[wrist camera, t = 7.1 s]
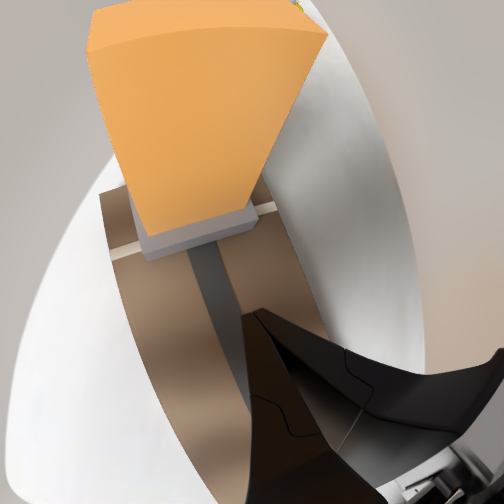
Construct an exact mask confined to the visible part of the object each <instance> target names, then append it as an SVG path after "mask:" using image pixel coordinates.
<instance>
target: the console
mask: <svg viewBox="0 0 504 504" xmlns="http://www.w3.org/2000/svg"><path fill="white" fill-rule="evenodd" d="M99 196H100V203H101V210H102V216H103V222H104V227H105V232H106V237H107V242H108V247H109V253H110V258H111V261H112V265H113V269H114V273H115V277H116V281H117V284H118V288H119V292H120V295H121V299H122V302H123V306H124V309H125V312H126V315H127V319H128V322H129V325H130V328H131V331H132V334H133V337H134V339H135V342H136V345H137V348H138V351H139V353H140V356H141V359H142V361H143V364H144V366H145V369H146V371H147V374H148V376H149V379H150V381H151V383H152V386H153V388H154V390H155V392H156V395H157V397H158V399H159V401H160V404H161V406H162V408H163V410H164V412H165V414H166V416H167V418H168V420H169V422H170V424H171V426H172V428H173V430H174V432H175V434H176V436H177V438H178V440H179V441H180V443H181V445H182V447H183V449H184V450H185V452H186V454H187V456H188V457H189V459H190V461H191V462H192V464H193V466H194V467H195V469H196V471H197V472H198V474H199V476H200V477H201V479H202V480H203V482H204V483H205V485H206V486H207V488H208V489H209V491H210V492H211V494H212V495H213V497H214V498H215V500H216V501H217V502H218V504H245V499H246V494H247V488H248V481H249V468H250V446H251V412H250V401H249V392H248V383H247V375H246V366H245V357H244V348H243V339H242V329H241V320H240V316H241V315H243V314H246V313H248V312H252V311H254V310H256V309H259V308H265V309H267V310H269V311H271V312H273V313H275V314H277V315H279V316H281V317H283V318H285V319H286V320H288V321H290V322H292V323H294V324H296V325H298V326H300V327H302V328H304V329H306V330H308V331H310V332H312V333H314V334H316V335H318V336H320V337H323V338H325V339H327V340H329V338H328V335H327V332H326V330H325V327H324V324H323V322H322V319H321V316H320V314H319V311H318V309H317V306H316V303H315V301H314V298H313V296H312V293H311V291H310V288H309V286H308V283H307V281H306V278H305V276H304V273H303V271H302V268H301V266H300V263H299V261H298V258H297V256H296V253H295V251H294V249H293V246H292V244H291V241H290V239H289V237H288V234H287V232H286V230H285V227H284V225H283V222H282V220H281V218H280V216H279V213H278V211H277V210H278V209H277V207H276V205H275V202H274V201H273V199H272V197H271V195H270V193H269V190H268V188H267V186H266V184H265V181H264V179H263V177H262V175H261V173H260V176H259V178H258V180H257V182H256V184H255V187H254V189H253V191H252V193H251V195H250V199H251V201H252V204H253V206H254V209H255V211H256V213H257V216H258V218H259V220H258V221H257V223H256V225H255V226H254V228H253V229H252V230H249V231H245V232H242V233H239V234H235V235H232V236H229V237H225V238H222V239H219V240H216V241H212V242H209V243H206V244H203V245H200V246H196V247H193V248H190V249H187V250H184V251H180V252H177V253H174V254H171V255H168V256H165V257H162V258H159V259H155V260H152V261H149V262H147V260H146V259H145V257H144V256H143V254H142V250H141V246H140V242H139V238H138V234H137V230H136V226H135V222H134V218H133V213H132V209H131V204H130V199H129V195H128V190H127V185H125V186H122V187H119V188H116V189H113V190H110V191H107V192H104V193H101V194H99ZM329 341H330V340H329ZM326 441H327V440H326ZM328 444H329V443H328ZM329 445H330V444H329ZM331 448H332V447H331ZM332 449H333V448H332ZM333 450H334V449H333Z"/></svg>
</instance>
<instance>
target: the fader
mask: <svg viewBox="0 0 504 504" xmlns="http://www.w3.org/2000/svg"><path fill="white" fill-rule="evenodd" d="M327 36H328V33H327V32H325V31H324V30H323V29H322V28H321V27H320V26H319V25H318V24H317V23H315V22H314V21H313V20H312V19H311V18H310V17H308V16H307V15H306V14H305V13H304V12H302V11H301V10H300V9H299V8H297V7H296V6H295V5H294V4H292V3H291V2H290V1H288V0H134V1H129V2H125V3H121V4H116V5H113V6H109V7H105V8H102V9H99V10H95V11H94V13H93V17H92V23H91V27H90V32H89V38H88V43H87V50H86V55H87V59H88V64H89V68H90V72H91V76H92V80H93V84H94V88H95V91H96V95H97V98H98V102H99V105H100V109H101V112H102V115H103V119H104V122H105V125H106V128H107V131H108V134H109V137H110V140H111V143H112V146H113V149H114V152H115V155H116V158H117V160H118V163H119V166H120V169H121V171H122V174H123V177H124V179H125V182H126V184H127V190H128V195H129V199H130V204H131V209H132V213H133V218H134V222H135V226H136V230H137V234H138V238H139V242H140V246H141V250H142V254H143V256H144V257H145V259H146V260H147V262H149V261H152V260H155V259H159V258H162V257H165V256H168V255H171V254H174V253H177V252H180V251H184V250H187V249H190V248H193V247H196V246H200V245H203V244H206V243H209V242H212V241H216V240H219V239H222V238H225V237H229V236H232V235H235V234H239V233H242V232H245V231H249V230H252V229H253V228H254V226H255V225H256V223H257V221H258V220H259V218H258V216H257V213H256V211H255V209H254V206H253V204H252V201H251V199H250V195H251V193H252V191H253V189H254V187H255V184H256V182H257V180H258V178H259V176H260V173H261V171H262V169H263V167H264V165H265V163H266V160H267V158H268V156H269V154H270V152H271V150H272V148H273V145H274V143H275V141H276V139H277V137H278V135H279V133H280V131H281V129H282V126H283V124H284V122H285V120H286V118H287V116H288V114H289V112H290V110H291V108H292V106H293V104H294V102H295V99H296V97H297V95H298V93H299V91H300V89H301V87H302V85H303V83H304V81H305V79H306V77H307V75H308V73H309V71H310V69H311V67H312V65H313V63H314V61H315V59H316V57H317V55H318V53H319V51H320V49H321V47H322V45H323V43H324V41H325V40H326V38H327Z"/></svg>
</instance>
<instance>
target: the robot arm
mask: <svg viewBox="0 0 504 504" xmlns="http://www.w3.org/2000/svg"><path fill="white" fill-rule="evenodd" d="M240 320H241V329H242V339H243V348H244V357H245V366H246V375H247V383H248V392H249V401H250V412H251V446H250V468H249V481H248V488H247V494H246V499H245V504H388V502H387V500H386V499H385V498H384V497H383V496H382V495H381V494H380V493H379V492H378V491H377V490H376V489H375V488H377V487H380V486H382V485H384V484H386V483H388V482H390V481H392V480H395V481H396V483H397V484H398V485H399V486H400V488H401V489H402V490H403V491H402V492H401V495H402V496H403V497H404V498H405V499H406V501H407V502H406V503H405V504H445V503H446V502H447V501H448V500H449V499H450V498H451V497H452V496H453V495H454V494H455V493H456V491H458V489H460V490H461V492H459V493H458V494H457V495H455V496H454V497H453V498H452V499H451V500H450V501H449V502H448V503H446V504H504V348H499V349H498V350H497V351H496V352H495V354H494V355H493V357H492V358H491V359H490V360H489V361H488V362H486V363H484V364H482V365H479V366H475V367H471V368H466V369H461V370H457V371H451V372H445V373H439V374H432V375H422V374H415V373H411V372H408V371H405V370H401V369H398V368H395V367H392V366H388V365H385V364H382V363H379V362H376V361H374V360H371V359H368V358H366V357H363V356H361V355H359V354H356V353H354V352H352V351H350V350H348V349H345V350H344V348H343V347H341V346H339V345H337V344H335V343H333V342H331V341H329V340H327V339H325V338H323V337H320V336H318V335H316V334H314V333H312V332H310V331H308V330H306V329H304V328H302V327H300V326H298V325H296V324H294V323H292V322H290V321H288V320H286V319H285V318H283V317H281V316H279V315H277V314H275V313H273V312H271V311H269V310H267V309H265V308H259V309H256V310H254V311H252V312H248V313H246V314H243V315H241V316H240ZM326 440H327V441H326ZM328 443H329V444H330V445H329V444H328ZM331 447H332V448H333V449H334V450H333V449H332V448H331Z"/></svg>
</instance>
